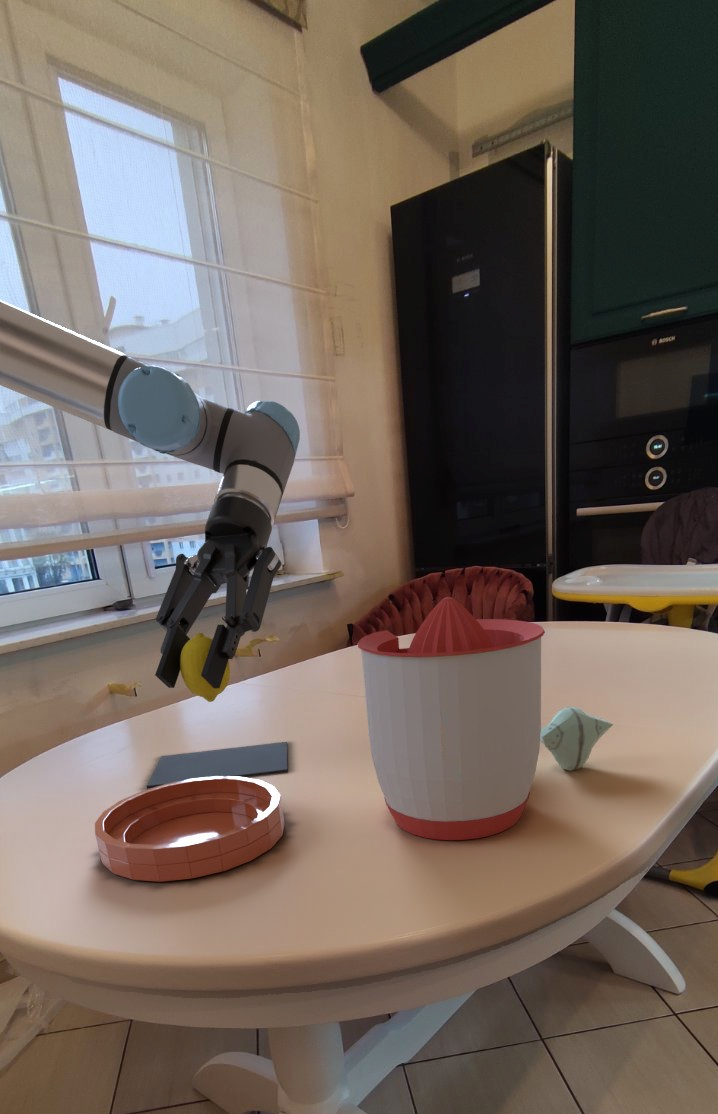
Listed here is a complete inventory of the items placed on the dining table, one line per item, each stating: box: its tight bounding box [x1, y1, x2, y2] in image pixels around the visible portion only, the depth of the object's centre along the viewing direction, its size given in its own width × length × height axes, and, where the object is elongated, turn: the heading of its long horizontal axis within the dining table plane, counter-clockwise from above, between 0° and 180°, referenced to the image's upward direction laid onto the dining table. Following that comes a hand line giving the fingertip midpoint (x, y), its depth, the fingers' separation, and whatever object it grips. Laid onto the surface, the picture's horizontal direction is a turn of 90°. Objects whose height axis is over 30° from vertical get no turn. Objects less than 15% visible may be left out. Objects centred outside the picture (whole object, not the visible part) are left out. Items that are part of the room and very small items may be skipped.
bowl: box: [94, 776, 285, 882], centre depth 67 cm, size 17×17×4 cm
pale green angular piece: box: [540, 706, 614, 771], centre depth 75 cm, size 8×4×7 cm, turn 105°
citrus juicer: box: [357, 596, 546, 841], centre depth 64 cm, size 16×17×20 cm
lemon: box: [180, 632, 231, 703], centre depth 83 cm, size 6×6×8 cm
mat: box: [146, 741, 289, 790], centre depth 87 cm, size 16×11×1 cm
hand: (187, 681), depth 80 cm, fingers closed on lemon, 5 cm apart
